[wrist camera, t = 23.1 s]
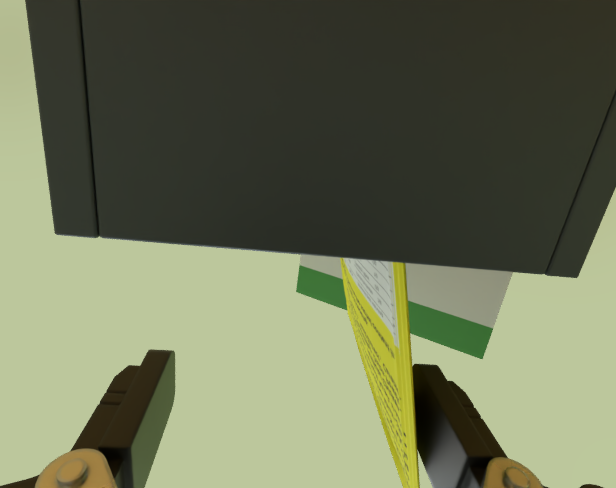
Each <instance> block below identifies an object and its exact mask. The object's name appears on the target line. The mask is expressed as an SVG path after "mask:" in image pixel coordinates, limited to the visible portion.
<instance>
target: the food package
mask: <svg viewBox="0 0 616 488" xmlns="http://www.w3.org/2000/svg"><path fill="white" fill-rule="evenodd" d="M340 261H341V269H342V277H343V284H344V290H345V296H346V304H347V310H348V315H349V318H350V321H351V325H352V327H353V331H354V334H355V338H356V342H357V345H358V349H359V352H360V355H361V359H362V362H363V365H364V368H365V371H366V374H367V377H368V381H369V384H370V387H371V390H372V393H373V396H374V400H375V403H376V406H377V409H378V413H379V416H380V419H381V422H382V425H383V429H384V432H385V435H386V438H387V441H388V444H389V447H390V450H391V453H392V456H393V459H394V461H395V465H396V468H397V470H398V474H399V476H400V479H401V482H402V485H403V488H420V487H419V486H420V485H419V469H418V452H417V435H416V419H415V403H414V387H413V372H412V357H411V342H410V325H409V310H408V294H407V279H406V263H398V262H386V261H374V260H362V259H350V258H340Z"/></svg>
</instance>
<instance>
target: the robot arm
mask: <svg viewBox="0 0 616 488" xmlns="http://www.w3.org/2000/svg"><path fill="white" fill-rule="evenodd" d="M412 372H413V387H414V403H415V419H416V435H417V449H418V451H419V454H420V456H421V459H422V462H423V464H424V466H425V469H426V471H427V474H428V476H429V479H430V481H431V484H432V486H433V488H548V487H545V486H543V485H542V484H541V482H540V481H539V479H538V478H537V477H536V476H535V475H534V474H533V473H532V472H531V471H530V470H529V469H528V468H526V467H525V466H523V465H522V464H520V463H518V462H516V461H514V460H511V459H509V458H508V457H507V456H506V454H505V453H504V451H503V450H502V448H501V447H500V445H499V444H498V442H497V441H496V439H495V437H494V436H493V434H492V433H491V431H490V430H489V428H488V427H487V425H486V424H485V422H484V420H483V419H481V416H480V414H479V413H478V411H477V410H476V408H474V405H473V403H472V402H471V400H470V399H469V397H468V396H467V394H466V393H465V392H464V391H463V390H462V389H461V388H460V387H459V386H457V385H456V384H455V383H454V382H453V381H447V379H446V378H445V376H444V375H443V373H442V372H441V370H440V368H439V367H438V366H437V365H428V364H414V365H413V367H412ZM174 395H175V353H174V351H168V350H167V351H166V350H149V351H148V352H147V354H146V356H145V358H144V360H143V362H142V364H141V365H140V366H132V365H129V366H128V367H126V368H125V369H124V370H123V371H121V372H120V373H119V374H118V375H116V376H115V377H114V379H113V381H112V382H111V384H110V386H109V388H108V389H107V392H106V393H105V394H104V396H103V398H102V399H101V401H100V404H99V405H98V406H97V408H96V409H95V411H94V413H93V414H92V416H91V418H90V420H89V421H88V423H87V425H86V426H85V428H84V430H83V431H82V433H81V434H80V436H79V438H78V439H77V441H76V443H75V445H74V446H73V448H72V449H71V451H70V452H68V453H66V454H64V455H62V456H60V457H58V458H57V459H55V460H54V461H52V462H51V463H50V464H49V465H48V466H47V467H46V468H45V469H44V470H43V471H42V473H41V474H40V475H38V476H35V477H33V478H29V479H26V480H22V481H19V482H14V483H10V484H6V485H3V486H0V488H144V487H145V484H146V481H147V479H148V476H149V473H150V470H151V467H152V464H153V461H154V459H155V455H156V453H157V450H158V447H159V444H160V441H161V438H162V436H163V433H164V430H165V427H166V424H167V421H168V418H169V415H170V412H171V409H172V406H173V402H174ZM580 488H603V487H600V486H597V485H592V484H586V485H583V486H581V487H580Z"/></svg>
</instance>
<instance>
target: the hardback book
mask: <svg viewBox="0 0 616 488" xmlns="http://www.w3.org/2000/svg"><path fill="white" fill-rule="evenodd" d="M512 273H513V272H507V271H495V270H483V269H471V268H459V267H447V266H434V265H422V264H410V263H406V279H407V294H408V310H409V325H410V333H411V334H414V335H417V336H419V337H422V338H425V339H428V340H430V341H433V342H436V343H439V344H441V345H444V346H447V347H450V348H452V349H455V350H458V351H461V352H464V353H466V354H469V355H472V356H475V357H477V358H480V359H483V356H484V353H485V350H486V347H487V344H488V342H489V339H490V336H491V333H492V330H493V327H494V324H495V322H496V319H497V315H498V313H499V310H500V307H501V304H502V301H503V299H504V296H505V293H506V290H507V287H508V285H509V281H510V279H511V276H512ZM296 292H298V293H301V294H304V295H306V296H309V297H312V298H315V299H317V300H320V301H323V302H326V303H328V304H331V305H334V306H337V307H339V308H342V309H345V310H347V304H346V296H345V290H344V284H343V277H342V269H341V261H340V258H338V257H326V256H314V255H301V258H300V267H299V275H298V283H297V290H296Z"/></svg>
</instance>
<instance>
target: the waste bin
mask: <svg viewBox="0 0 616 488" xmlns="http://www.w3.org/2000/svg"><path fill="white" fill-rule="evenodd" d="M25 2H26V10H27V18H28V25H29V33H30V41H31V49H32V57H33V64H34V72H35V80H36V88H37V95H38V104H39V112H40V120H41V128H42V136H43V143H44V151H45V158H46V166H47V175H48V183H49V190H50V199H51V207H52V215H53V222H54V230H55V234H57V235H64V236H77V237H89V238H97V237H99V236H100V237H102V238H108V239H109V238H110V239H122V240H133V241H145V242H157V243H169V244H181V245H194V246H205V247H217V248H229V249H241V250H253V251H265V252H278V253H291V254H301V255H314V256H326V257H338V258H350V259H362V260H374V261H386V262H398V263H410V264H422V265H434V266H447V267H459V268H471V269H483V270H495V271H507V272H519V273H531V274H545V275H547V276H559V277H571V278H577V277H578V275H579V273H580V270H581V268H582V266H583V264H584V261H585V259H586V256H587V254H588V252H589V249H590V247H591V245H592V242H593V240H594V237H595V235H596V233H597V230H598V228H599V226H600V223H601V221H602V218H603V216H604V214H605V211H606V209H607V206H608V204H609V202H610V199H611V197H612V195H613V192H614V190H615V187H616V0H25Z"/></svg>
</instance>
